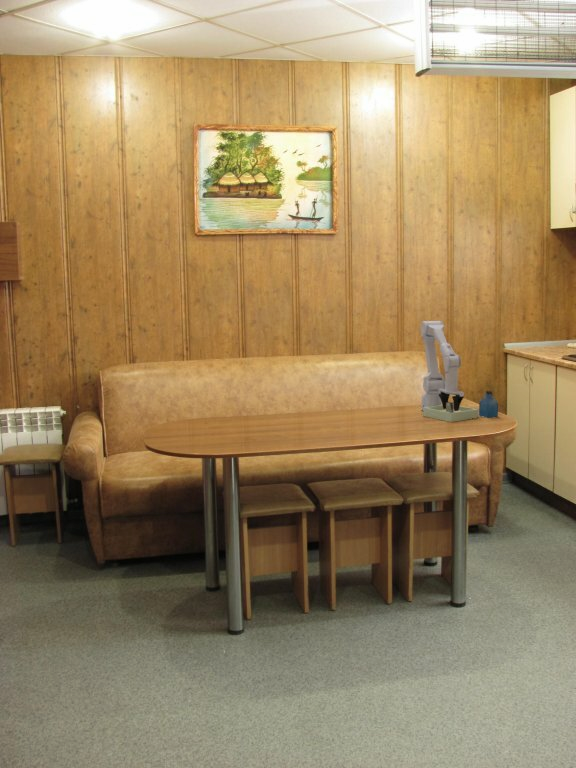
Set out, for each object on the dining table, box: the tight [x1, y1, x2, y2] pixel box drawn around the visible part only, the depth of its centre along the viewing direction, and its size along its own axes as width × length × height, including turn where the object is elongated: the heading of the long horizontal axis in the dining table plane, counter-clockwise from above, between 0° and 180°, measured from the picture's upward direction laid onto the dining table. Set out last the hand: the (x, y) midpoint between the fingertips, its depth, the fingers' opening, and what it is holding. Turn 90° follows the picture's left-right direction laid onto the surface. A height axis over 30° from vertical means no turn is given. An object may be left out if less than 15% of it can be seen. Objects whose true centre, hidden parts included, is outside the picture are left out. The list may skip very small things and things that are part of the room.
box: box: [422, 404, 479, 423], centre depth 379 cm, size 18×18×4 cm
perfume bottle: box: [478, 390, 499, 419], centre depth 380 cm, size 6×6×12 cm
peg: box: [446, 401, 454, 413], centre depth 378 cm, size 4×4×7 cm
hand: (450, 409), depth 379 cm, fingers open, 6 cm apart
